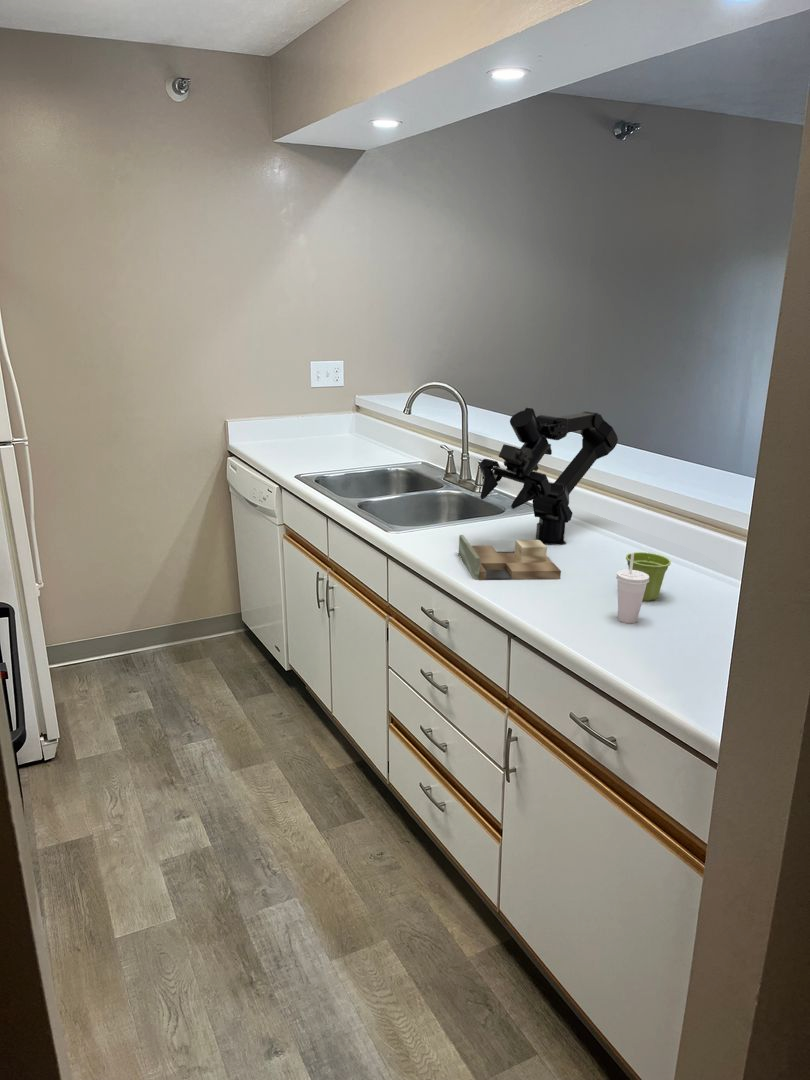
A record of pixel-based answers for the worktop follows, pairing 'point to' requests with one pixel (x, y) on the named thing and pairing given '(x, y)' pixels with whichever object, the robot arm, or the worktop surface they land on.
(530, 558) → the birch block
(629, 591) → the smoothie
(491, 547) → the board
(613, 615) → the worktop surface
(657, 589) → the plant pot
